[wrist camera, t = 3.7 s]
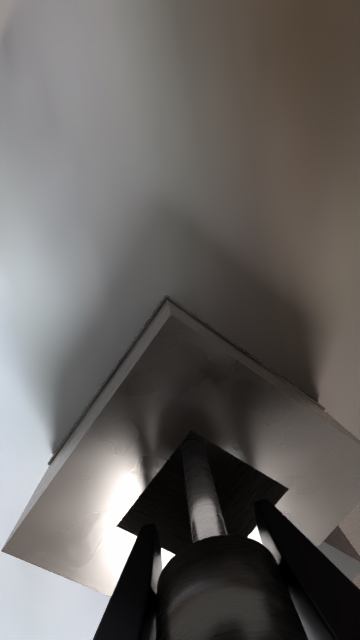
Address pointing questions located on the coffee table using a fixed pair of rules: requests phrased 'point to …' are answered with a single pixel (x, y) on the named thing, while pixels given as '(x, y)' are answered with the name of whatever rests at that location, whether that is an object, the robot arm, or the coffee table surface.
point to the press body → (167, 465)
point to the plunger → (220, 574)
